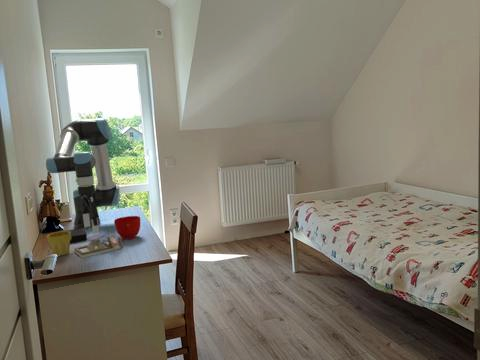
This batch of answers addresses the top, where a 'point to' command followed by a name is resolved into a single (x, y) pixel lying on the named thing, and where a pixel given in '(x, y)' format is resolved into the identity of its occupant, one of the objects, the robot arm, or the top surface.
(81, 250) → the seating jig
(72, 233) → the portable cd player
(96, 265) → the top surface
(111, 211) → the top surface
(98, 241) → the toy table
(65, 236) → the plant pot
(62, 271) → the top surface
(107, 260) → the top surface
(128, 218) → the ceramic cup
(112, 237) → the bar
